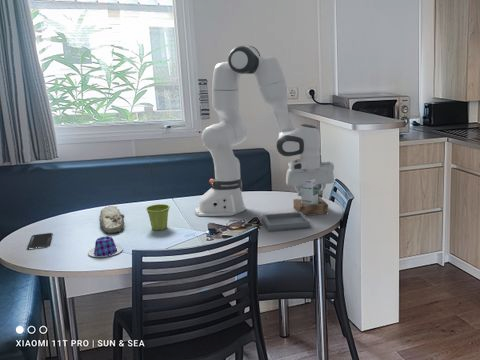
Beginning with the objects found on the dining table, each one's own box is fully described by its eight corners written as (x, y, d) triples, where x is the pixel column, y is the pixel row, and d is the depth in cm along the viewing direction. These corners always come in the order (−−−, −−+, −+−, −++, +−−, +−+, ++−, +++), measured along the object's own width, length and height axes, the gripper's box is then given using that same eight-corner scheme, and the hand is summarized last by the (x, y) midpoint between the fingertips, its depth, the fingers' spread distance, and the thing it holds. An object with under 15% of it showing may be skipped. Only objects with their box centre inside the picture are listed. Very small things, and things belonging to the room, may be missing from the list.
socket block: (300, 216, 203) (299, 206, 202) (293, 208, 215) (293, 199, 214) (328, 213, 204) (328, 204, 203) (320, 205, 216) (320, 197, 215)
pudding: (115, 244, 181) (114, 230, 180) (128, 253, 172) (126, 238, 171) (83, 252, 175) (82, 238, 174) (95, 261, 165) (93, 247, 164)
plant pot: (176, 226, 198) (174, 205, 196) (160, 233, 190) (158, 212, 188) (159, 223, 203) (157, 203, 201) (142, 229, 195) (140, 209, 193)
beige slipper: (121, 212, 226) (99, 217, 223) (119, 201, 225) (97, 205, 222) (128, 231, 193) (102, 236, 190) (126, 218, 192) (100, 223, 189)
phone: (26, 247, 179) (32, 235, 193) (27, 250, 179) (32, 237, 193) (49, 244, 181) (53, 232, 195) (50, 247, 181) (53, 235, 195)
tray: (268, 231, 186) (268, 225, 185) (262, 220, 200) (262, 214, 199) (309, 228, 188) (309, 221, 187) (301, 217, 201) (301, 211, 201)
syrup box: (313, 213, 206) (312, 180, 202) (300, 211, 209) (300, 178, 206) (319, 210, 210) (319, 177, 207) (307, 208, 213) (307, 175, 210)
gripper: (331, 160, 209) (331, 191, 212) (284, 163, 207) (285, 194, 210) (336, 162, 203) (336, 194, 206) (287, 166, 201) (288, 198, 204)
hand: (310, 194), depth 208 cm, fingers open, 8 cm apart
